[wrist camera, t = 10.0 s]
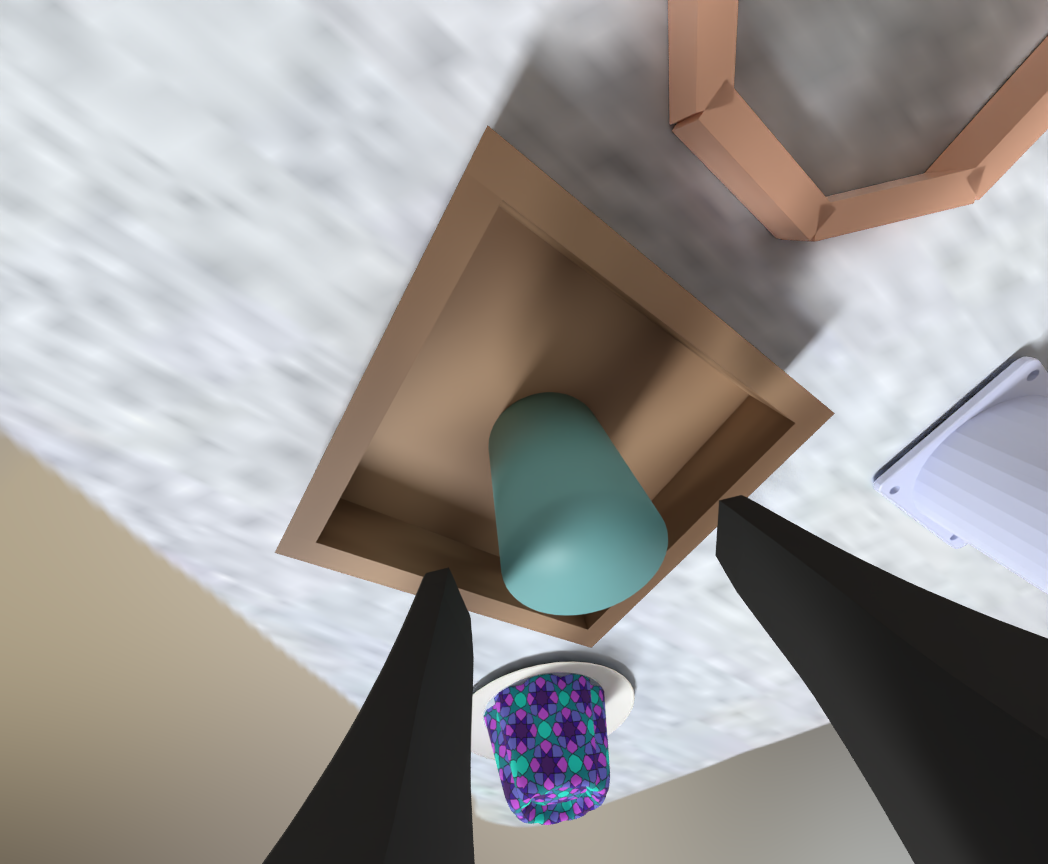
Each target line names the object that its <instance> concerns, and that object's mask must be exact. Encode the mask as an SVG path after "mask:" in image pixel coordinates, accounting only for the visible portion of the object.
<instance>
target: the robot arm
mask: <svg viewBox="0 0 1048 864" xmlns="http://www.w3.org/2000/svg"><path fill="white" fill-rule="evenodd" d="M874 489H875V490H876V491H878V492H879V493H880V494H882V495H883V496H884V497H886V498H887V499H888V500H890V501H891V502H892V503H894V504H895V505H896V506H898V507H899V508H900V509H902V510H903V511H904V512H906V513H907V514H908V515H910V516H911V517H912V518H914V519H915V520H916V521H918V522H919V523H920V524H922V525H923V526H924V527H926V528H927V529H928V530H929V531H931V532H932V533H933V534H935V535H936V536H937V537H939V538H940V539H941V540H943V541H944V542H945V543H947V544H948V545H950V546H951V547H953V548H955V549H957V548H961V547H963V546H965V545H967V544H970V545H971V546H973V547H975V548H976V549H978V550H979V551H981V552H982V553H984V554H985V555H987V556H989V557H990V558H992V559H993V560H995V561H996V562H998V563H999V564H1001V565H1003V566H1004V567H1006V568H1007V569H1009V570H1010V571H1012V572H1013V573H1015V574H1017V575H1018V576H1020V577H1021V578H1023V579H1024V580H1026V581H1027V582H1029V583H1031V584H1032V585H1034V586H1035V587H1037V588H1038V589H1040V590H1041V591H1043V592H1045V593H1046V594H1048V372H1047V371H1046V369H1045V368H1044V366H1043V365H1042V364H1041V362H1040V361H1039V360H1038V359H1037V358H1032V357H1028V356H1025V357H1021V358H1019V359H1017V360H1016V361H1014V362H1013V363H1012V364H1011V365H1010V366H1008V367H1007V368H1006V369H1005V370H1004V371H1003V372H1001V373H1000V374H999V375H998V376H997V377H995V378H994V379H993V380H992V381H991V382H990V383H988V384H987V385H986V386H985V387H984V388H983V389H981V390H980V391H979V392H978V393H977V394H976V395H974V396H973V397H972V398H971V399H970V400H969V401H967V402H966V403H965V404H964V405H963V406H962V407H960V408H959V409H958V410H957V411H956V412H955V413H953V414H952V415H951V416H950V417H949V418H948V419H946V420H945V421H944V422H943V423H942V424H941V425H939V426H938V427H937V428H936V429H935V430H934V431H932V432H931V433H930V434H929V435H928V436H927V437H925V438H924V439H923V440H922V441H921V442H920V443H918V444H917V445H916V446H915V447H914V448H912V449H911V450H910V451H909V452H908V453H907V454H905V455H904V456H903V457H902V458H901V459H900V460H898V461H897V462H896V463H895V464H894V465H893V466H891V467H890V468H889V469H888V470H887V471H886V472H884V473H883V474H882V475H881V476H880V477H879V478H877V480H876V481H875V482H874ZM716 557H717V559H718V560H719V562H720V564H721V566H722V567H723V569H724V571H725V573H726V574H727V576H728V578H729V579H730V581H731V583H732V584H733V586H734V588H735V589H736V591H737V593H738V594H739V595H740V597H741V598H742V599H743V601H744V602H745V604H746V605H747V606H748V608H749V609H750V610H751V612H752V613H753V614H754V616H755V617H756V618H757V620H758V621H759V622H760V624H761V625H762V626H763V628H764V629H765V630H766V632H767V633H768V634H769V636H770V637H771V638H772V640H773V641H774V642H775V644H776V645H777V646H778V648H779V649H780V650H781V652H782V653H783V654H784V656H785V657H786V658H787V660H788V661H789V662H790V664H791V665H792V666H793V668H794V669H795V670H796V672H797V673H798V674H799V676H800V677H801V678H802V680H803V681H804V683H805V684H806V685H807V687H808V688H809V690H810V691H811V693H812V694H813V695H814V697H815V698H816V700H817V702H818V703H819V705H820V706H821V708H822V709H823V711H824V713H825V714H826V716H827V717H828V719H829V721H830V722H831V724H832V725H833V727H834V728H835V730H836V731H837V733H838V735H839V736H840V738H841V740H842V741H843V743H844V744H845V746H846V748H847V749H848V751H849V752H850V754H851V756H852V758H853V759H854V761H855V762H856V764H857V766H858V767H859V769H860V771H861V772H862V774H863V776H864V777H865V779H866V781H867V782H868V784H869V786H870V787H871V789H872V791H873V792H874V794H875V796H876V797H877V799H878V801H879V802H880V804H881V806H882V808H883V809H884V811H885V813H886V815H887V816H888V818H889V820H890V822H891V823H892V825H893V827H894V829H895V830H896V832H897V834H898V835H899V837H900V839H901V840H902V842H903V844H904V846H905V847H906V849H907V851H908V853H909V854H910V856H911V858H912V860H913V862H914V863H915V864H1048V639H1047V638H1045V637H1042V636H1039V635H1037V634H1034V633H1031V632H1029V631H1026V630H1023V629H1021V628H1018V627H1015V626H1013V625H1010V624H1007V623H1005V622H1002V621H1000V620H997V619H995V618H992V617H990V616H987V615H984V614H982V613H979V612H977V611H974V610H972V609H970V608H967V607H965V606H962V605H960V604H958V603H955V602H953V601H951V600H948V599H946V598H944V597H941V596H939V595H937V594H934V593H932V592H930V591H927V590H925V589H923V588H921V587H918V586H916V585H914V584H912V583H909V582H907V581H905V580H903V579H901V578H899V577H897V576H894V575H892V574H890V573H888V572H886V571H884V570H882V569H880V568H878V567H876V566H874V565H872V564H870V563H868V562H865V561H863V560H861V559H859V558H858V557H856V556H854V555H852V554H850V553H848V552H846V551H844V550H842V549H840V548H838V547H836V546H834V545H832V544H830V543H829V542H827V541H825V540H823V539H821V538H819V537H817V536H815V535H814V534H812V533H810V532H808V531H806V530H804V529H803V528H801V527H799V526H797V525H795V524H794V523H792V522H790V521H788V520H786V519H785V518H783V517H781V516H779V515H777V514H776V513H774V512H772V511H770V510H769V509H767V508H765V507H763V506H761V505H760V504H758V503H756V502H754V501H752V500H751V499H749V498H747V497H745V496H743V495H739V496H735V497H731V498H727V499H723V500H719V509H718V525H717V541H716ZM472 697H473V643H472V630H471V618H470V614H469V612H468V610H467V608H466V605H465V603H464V601H463V598H462V596H461V594H460V591H459V589H458V587H457V585H456V582H455V580H454V578H453V575H452V573H451V571H450V568H449V567H448V568H444V569H440V570H436V571H432V572H428V573H426V574H425V575H424V577H423V579H422V581H421V584H420V586H419V589H418V591H417V593H416V596H415V598H414V601H413V603H412V605H411V608H410V610H409V612H408V615H407V617H406V619H405V621H404V624H403V626H402V628H401V630H400V632H399V635H398V637H397V639H396V641H395V643H394V645H393V647H392V649H391V652H390V654H389V656H388V658H387V660H386V662H385V664H384V666H383V668H382V670H381V672H380V674H379V676H378V678H377V680H376V682H375V683H374V685H373V687H372V689H371V691H370V693H369V695H368V697H367V699H366V701H365V703H364V705H363V706H362V708H361V710H360V712H359V714H358V715H357V717H356V719H355V721H354V723H353V724H352V726H351V728H350V730H349V731H348V733H347V735H346V736H345V738H344V740H343V741H342V743H341V745H340V746H339V748H338V750H337V752H336V753H335V755H334V757H333V758H332V760H331V762H330V763H329V765H328V766H327V768H326V769H325V771H324V773H323V774H322V776H321V777H320V779H319V780H318V782H317V784H316V785H315V787H314V788H313V790H312V791H311V793H310V794H309V796H308V797H307V799H306V801H305V802H304V804H303V805H302V807H301V808H300V810H299V811H298V813H297V814H296V816H295V817H294V819H293V820H292V822H291V823H290V825H289V826H288V828H287V829H286V831H285V832H284V834H283V835H282V837H281V838H280V839H279V841H278V842H277V843H276V845H275V846H274V848H273V849H272V850H271V852H270V853H269V855H268V856H267V858H266V859H265V860H264V862H263V863H262V864H475V863H474V847H473V826H472V805H471V729H472Z"/></svg>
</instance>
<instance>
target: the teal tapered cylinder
mask: <svg viewBox="0 0 1048 864" xmlns="http://www.w3.org/2000/svg"><path fill="white" fill-rule="evenodd" d="M488 447H489V459H490V468H491V478H492V487H493V497H494V506H495V516H496V526H497V535H498V545H499V554H500V564H501V573H502V577H503V581H504V583H505V585H506V587H507V589H508V590H509V592H510V593H511V594H512V595H513V596H514V597H515V598H516V599H517V600H518V601H519V602H521V603H522V604H524V605H526V606H527V607H529V608H531V609H534V610H536V611H539V612H543V613H547V614H553V615H580V614H587V613H592V612H596V611H599V610H603V609H606V608H608V607H611V606H614V605H616V604H618V603H620V602H622V601H624V600H625V599H627V598H629V597H630V596H632V595H633V594H635V593H636V592H638V591H639V590H640V589H641V588H642V587H644V586H645V585H646V584H647V583H648V582H649V581H650V580H651V579H652V577H653V576H654V575H655V574H656V572H657V571H658V569H659V568H660V566H661V564H662V562H663V560H664V557H665V555H666V551H667V547H668V533H667V528H666V525H665V522H664V520H663V519H662V517H661V515H660V514H659V512H658V511H657V509H656V508H655V506H654V504H653V503H652V501H651V500H650V498H649V497H648V495H647V494H646V492H645V491H644V489H643V488H642V486H641V485H640V483H639V482H638V480H637V479H636V477H635V476H634V474H633V473H632V471H631V470H630V468H629V467H628V465H627V464H626V462H625V461H624V459H623V458H622V456H621V455H620V453H619V452H618V450H617V449H616V447H615V446H614V444H613V443H612V441H611V440H610V438H609V436H608V435H607V433H606V432H605V430H604V429H603V427H602V426H601V424H600V423H599V421H598V420H597V418H596V417H595V415H594V414H593V412H592V411H591V410H590V409H589V408H588V407H587V406H586V405H585V404H584V403H583V402H581V401H580V400H578V399H576V398H574V397H572V396H569V395H566V394H562V393H555V392H544V393H537V394H533V395H530V396H527V397H524V398H522V399H520V400H518V401H517V402H515V403H513V404H512V405H511V406H509V407H508V408H507V409H506V410H505V411H504V412H503V413H502V414H501V415H500V416H499V418H498V419H497V420H496V422H495V424H494V426H493V428H492V430H491V433H490V437H489V445H488Z"/></svg>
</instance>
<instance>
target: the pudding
mask: <svg viewBox="0 0 1048 864" xmlns="http://www.w3.org/2000/svg"><path fill="white" fill-rule="evenodd" d="M558 672H566V673H576V674H570V675H567V676H563V677H558V676H555V675H553V674H546V673H558ZM540 674H544V675H540ZM578 674H581V675H578ZM536 675H538V676H536ZM583 675H584V676H583ZM532 676H535V677H532ZM585 676H587V677H590V678H592V679H593V680H595V681H597V682H598V683H599V684H600V685H601V686H602V688H603V689H602V688H601V687H600V686H593V685H590V680H589V678H587V677H585ZM528 677H532V678H529V679H528V680H527V681H526V682H525V683H524V684H522V685H520V686H512V687H508V688H506V687H507V686H509V685H511V684H513V683H515V682H517V681H520V680H522V679H525V678H528ZM504 688H506V689H504ZM502 689H504V690H502ZM501 690H502V691H501ZM499 691H501V692H499ZM498 692H499V693H498ZM497 693H498V694H497ZM496 694H497V696H496V697H495V698H494V700H495V705H494V706H492V707H491V708H489V709H488V710H486V712H485V715H484V719H485V723H486V726H487V727H486V726H485V724H484V721H483V713H484V709H485V707H486V705H487V703H488V702H489V701H490V700H491V698H492V697H494V696H495V695H496ZM604 694H605V695H604ZM634 700H635V697H634V690H633V688H632V686H631V684H630V682H629V681H628V680H627V679H626V678H625V677H624V676H623V675H621V674H620V673H618V672H617V671H615V670H613V669H610V668H608V667H605V666H602V665H597V664H592V663H585V662H555V663H548V664H541V665H536V666H532V667H528V668H524V669H521V670H518V671H515V672H512V673H510V674H507V675H504V676H502V677H500V678H498V679H496V680H494V681H492V682H490V683H489V684H487V685H486V686H484V687H483V688H481V689H480V690H478V691H477V692H476V693H474V694H473V697H472V729H471V752H473V753H475V754H477V755H479V756H482V757H485V758H488V759H493V760H495V761H496V764H497V768H498V772H499V776H500V780H501V783H502V787H503V791H504V795H505V798H506V801H507V803H508V805H509V807H510V809H511V811H512V812H513V813H514V814H515V815H516V817H517V818H518V819H519V820H521V821H522V822H524V823H529V824H532V823H540V824H542V825H550V824H556V823H559V822H561V821H564V820H573V819H577V818H580V817H582V816H584V815H585V814H586V813H587V812H588V811H591V810H594V809H596V808H598V807H599V806H601V805H602V803H603V802H604V800H605V798H606V794H607V792H608V789H609V783H610V767H609V753H608V738H607V736H608V735H610V734H611V733H612V732H614V731H615V730H616V729H617V728H618V727H619V726H620V725H621V724H622V723H623V722H624V721H625V720H626V718H627V717H628V716H629V714H630V712H631V710H632V708H633V704H634Z"/></svg>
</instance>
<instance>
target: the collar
mask: <svg viewBox="0 0 1048 864" xmlns="http://www.w3.org/2000/svg"><path fill="white" fill-rule="evenodd" d="M737 19H738V0H668V38H669V122H670V125H671V124H675V123H677V124H676V125H675V127H674V128H673V130H672V132H673V133H674V134H675V135H676V136H677V137H678V138H679V139H680V140H681V141H682V142H683V143H684V144H685V145H686V146H687V147H688V148H689V149H690V150H691V151H692V152H693V153H694V154H695V155H696V156H697V157H698V158H699V159H700V161H701V162H702V163H703V164H704V165H705V166H706V167H707V168H708V169H709V170H710V171H711V172H712V173H713V174H714V175H715V176H716V177H717V178H718V179H719V180H720V181H721V182H722V183H723V184H724V185H725V186H726V187H727V188H728V189H729V190H730V191H731V192H732V193H733V194H734V195H735V197H736V198H737V199H738V200H739V201H740V202H741V203H742V204H743V205H744V206H745V207H746V208H747V209H748V210H749V211H750V212H751V213H752V214H753V215H754V216H755V217H756V218H757V219H758V220H759V221H760V222H761V223H762V224H763V225H764V226H765V227H766V228H767V229H768V230H769V231H770V232H771V234H772V235H773V236H774V237H775V238H778V239H781V240H797V241H814V242H815V241H819V240H823V239H827V238H831V237H836V236H840V235H844V234H848V233H852V232H856V231H861V230H865V229H869V228H873V227H877V226H881V225H886V224H890V223H894V222H898V221H902V220H906V219H911V218H915V217H919V216H923V215H927V214H931V213H935V212H940V211H944V210H948V209H952V208H956V207H960V206H965V205H969V204H973V203H974V200H979V199H980V198H981V197H982V196H983V195H984V194H985V193H986V192H987V191H988V190H989V189H990V188H991V187H992V186H993V185H994V184H995V183H996V182H997V181H998V180H999V179H1000V178H1001V177H1002V176H1003V175H1004V174H1005V173H1006V171H1007V170H1008V169H1009V168H1010V167H1011V166H1012V165H1013V164H1014V163H1015V162H1016V161H1017V160H1018V159H1019V158H1020V157H1021V156H1022V155H1023V154H1024V153H1025V152H1026V151H1027V150H1028V149H1029V148H1030V147H1031V146H1032V145H1033V144H1034V143H1035V142H1036V141H1037V140H1038V138H1039V137H1040V136H1041V135H1042V134H1043V133H1044V132H1045V131H1046V130H1047V129H1048V36H1047V37H1046V38H1045V39H1044V41H1043V42H1042V43H1041V44H1040V45H1039V46H1038V47H1037V48H1036V49H1035V51H1034V52H1033V53H1032V54H1031V55H1030V56H1029V57H1028V58H1027V59H1026V61H1025V62H1024V63H1023V64H1022V65H1021V66H1020V67H1019V68H1018V69H1017V71H1016V72H1015V73H1014V74H1013V75H1012V76H1011V77H1010V78H1009V79H1008V81H1007V82H1006V83H1005V84H1004V85H1003V86H1002V87H1001V88H1000V89H999V91H998V92H997V93H996V94H995V95H994V96H993V97H992V98H991V99H990V101H989V102H988V103H987V104H986V105H985V106H984V107H983V108H982V110H981V111H980V112H979V113H978V114H977V115H976V116H975V117H974V118H973V120H972V121H971V122H970V123H969V124H968V125H967V126H966V127H965V128H964V130H963V131H962V132H961V133H960V134H959V135H958V136H957V137H956V138H955V140H954V141H953V142H952V143H951V144H950V145H949V146H948V147H947V148H946V150H945V151H944V152H943V153H942V154H941V155H940V156H939V157H938V158H937V160H936V161H935V162H934V163H933V164H932V165H931V166H930V167H929V168H928V170H927V171H926V172H925V173H923V174H919V175H915V176H910V177H906V178H902V179H898V180H894V181H889V182H885V183H881V184H877V185H873V186H868V187H864V188H860V189H856V190H852V191H847V192H843V193H839V194H835V195H831V196H826V197H825V195H824V194H823V193H822V192H821V191H820V190H819V188H818V187H817V186H816V185H815V184H814V182H813V181H812V180H811V179H810V178H809V176H808V175H807V174H806V173H805V172H804V171H803V169H802V168H801V167H800V166H799V165H798V163H797V162H796V161H795V160H794V159H793V158H792V156H791V155H790V154H789V153H788V152H787V150H786V149H785V148H784V147H783V146H782V144H781V143H780V142H779V141H778V140H777V139H776V137H775V136H774V135H773V134H772V133H771V131H770V130H769V129H768V128H767V127H766V126H765V124H764V123H763V122H762V121H761V120H760V118H759V117H758V116H757V115H756V114H755V112H754V111H753V110H752V109H751V108H750V107H749V105H748V104H747V103H746V102H745V101H744V99H743V98H742V97H741V96H740V95H739V94H738V92H737V91H736V90H735V89H734V77H735V57H736V38H737Z"/></svg>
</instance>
